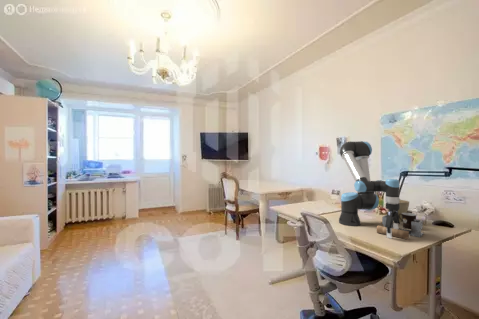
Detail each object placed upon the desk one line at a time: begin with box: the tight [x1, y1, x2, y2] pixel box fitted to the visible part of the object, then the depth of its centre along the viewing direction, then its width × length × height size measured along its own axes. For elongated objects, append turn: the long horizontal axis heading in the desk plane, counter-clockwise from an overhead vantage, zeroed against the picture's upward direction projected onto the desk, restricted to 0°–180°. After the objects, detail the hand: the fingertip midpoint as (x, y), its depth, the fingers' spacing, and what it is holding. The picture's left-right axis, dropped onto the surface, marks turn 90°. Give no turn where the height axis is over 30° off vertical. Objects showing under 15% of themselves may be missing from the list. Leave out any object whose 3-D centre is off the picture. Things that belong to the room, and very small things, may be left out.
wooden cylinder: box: [376, 225, 410, 240], centre depth 152 cm, size 17×5×5 cm, turn 41°
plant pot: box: [398, 199, 410, 223], centre depth 186 cm, size 15×15×16 cm
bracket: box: [381, 214, 424, 238], centre depth 159 cm, size 22×8×9 cm, turn 41°
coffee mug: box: [399, 212, 417, 230], centre depth 169 cm, size 12×9×10 cm
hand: (392, 235), depth 151 cm, fingers open, 13 cm apart
